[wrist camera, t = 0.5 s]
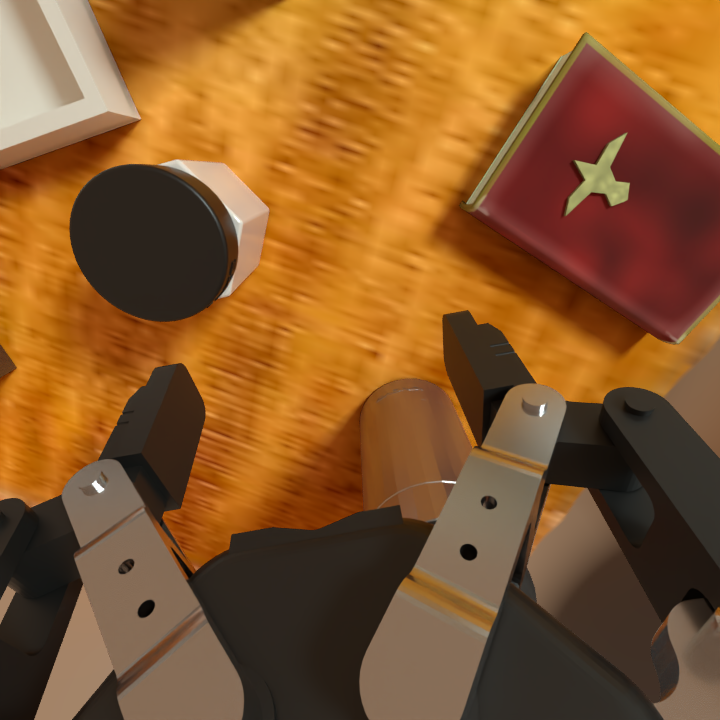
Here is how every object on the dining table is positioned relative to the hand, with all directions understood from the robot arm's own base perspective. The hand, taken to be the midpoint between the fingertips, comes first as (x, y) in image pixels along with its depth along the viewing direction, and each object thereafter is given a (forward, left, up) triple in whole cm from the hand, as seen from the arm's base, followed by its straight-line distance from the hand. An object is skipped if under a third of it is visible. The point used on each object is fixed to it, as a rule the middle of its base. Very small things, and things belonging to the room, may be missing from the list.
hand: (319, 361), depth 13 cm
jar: (+4, +9, -23) cm, 25 cm away
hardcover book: (-4, -22, -23) cm, 32 cm away
